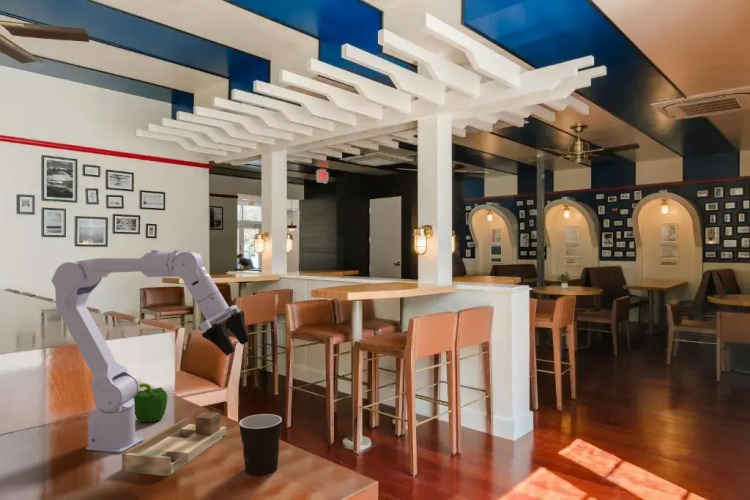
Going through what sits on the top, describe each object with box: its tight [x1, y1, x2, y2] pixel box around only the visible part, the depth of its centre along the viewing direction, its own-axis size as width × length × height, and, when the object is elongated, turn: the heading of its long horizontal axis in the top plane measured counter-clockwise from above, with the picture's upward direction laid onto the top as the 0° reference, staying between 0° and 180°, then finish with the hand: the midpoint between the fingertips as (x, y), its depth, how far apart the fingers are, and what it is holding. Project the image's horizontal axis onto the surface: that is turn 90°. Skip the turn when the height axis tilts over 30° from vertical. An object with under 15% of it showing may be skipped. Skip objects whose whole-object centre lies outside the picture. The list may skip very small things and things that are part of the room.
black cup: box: [238, 413, 283, 477], centre depth 109 cm, size 12×9×10 cm
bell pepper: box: [134, 382, 168, 423], centre depth 138 cm, size 8×8×10 cm
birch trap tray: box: [121, 417, 227, 477], centre depth 117 cm, size 11×23×4 cm, turn 167°
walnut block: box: [194, 411, 221, 436], centre depth 123 cm, size 4×4×4 cm
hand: (238, 347), depth 121 cm, fingers open, 7 cm apart
